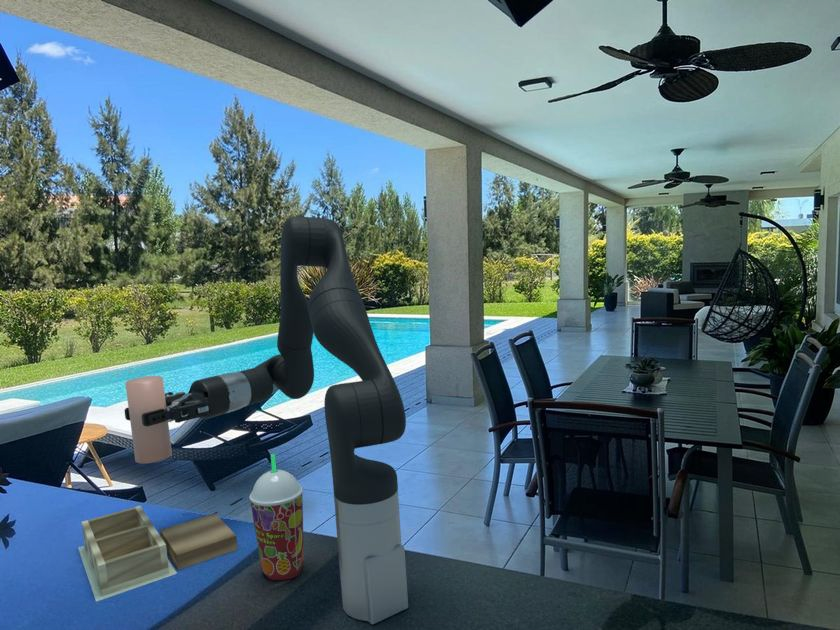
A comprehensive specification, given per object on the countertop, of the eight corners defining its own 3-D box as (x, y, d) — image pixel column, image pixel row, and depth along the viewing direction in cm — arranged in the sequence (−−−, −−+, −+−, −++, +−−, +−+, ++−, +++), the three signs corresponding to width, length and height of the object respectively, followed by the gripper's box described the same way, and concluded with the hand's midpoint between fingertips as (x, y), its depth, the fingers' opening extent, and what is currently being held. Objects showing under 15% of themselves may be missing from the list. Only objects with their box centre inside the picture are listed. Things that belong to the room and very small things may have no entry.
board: (237, 551, 108) (236, 535, 108) (178, 572, 103) (176, 555, 102) (216, 527, 118) (215, 512, 118) (161, 545, 112) (160, 529, 112)
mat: (177, 575, 102) (177, 573, 101) (96, 603, 95) (96, 601, 95) (148, 528, 119) (147, 526, 119) (78, 549, 113) (78, 547, 113)
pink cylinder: (175, 457, 108) (166, 379, 106) (138, 466, 105) (128, 386, 103) (167, 448, 113) (158, 374, 111) (132, 456, 110) (122, 380, 108)
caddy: (169, 573, 102) (165, 544, 101) (102, 596, 96) (98, 566, 95) (143, 530, 118) (140, 505, 117) (84, 547, 112) (81, 521, 112)
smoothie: (246, 580, 99) (234, 460, 96) (280, 555, 106) (270, 443, 104) (287, 591, 95) (275, 467, 92) (319, 564, 102) (309, 449, 100)
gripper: (199, 371, 123) (113, 391, 110) (240, 379, 114) (151, 402, 101) (203, 408, 124) (118, 431, 111) (244, 418, 115) (156, 446, 102)
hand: (134, 417), depth 106 cm, fingers closed on pink cylinder, 6 cm apart
